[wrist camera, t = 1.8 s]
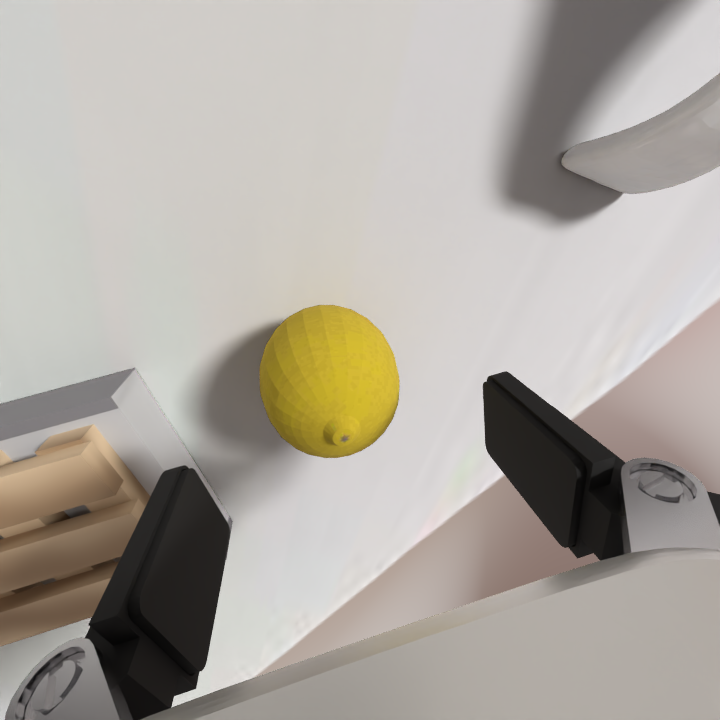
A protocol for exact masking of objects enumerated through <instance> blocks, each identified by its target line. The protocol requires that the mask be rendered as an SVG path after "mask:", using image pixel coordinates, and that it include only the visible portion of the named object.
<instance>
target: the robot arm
mask: <svg viewBox="0 0 720 720" xmlns="http://www.w3.org/2000/svg"><path fill="white" fill-rule="evenodd" d="M483 399H484V422H485V444H486V449H487V451H488V453H489V455H490V456H491V458H492V459H493V460H494V461H495V463H496V464H497V465H498V466H499V468H500V469H501V470H502V472H503V473H504V474H505V475H506V477H507V478H508V479H509V480H510V482H511V483H512V484H513V485H514V487H515V488H516V489H517V491H518V492H519V493H520V494H521V496H522V497H523V498H524V499H525V501H526V502H527V503H528V505H529V506H530V507H531V508H532V510H533V511H534V512H535V513H536V515H537V516H538V517H539V519H540V520H541V521H542V522H543V524H544V525H545V526H546V527H547V529H548V530H549V531H550V533H551V534H552V535H553V536H554V538H555V539H556V540H557V541H558V543H559V544H560V545H561V546H562V547H565V548H566V547H569V548H570V550H571V551H572V552H573V553H574V554H575V556H576V557H577V558H580V557H583V556H586V555H589V554H592V553H594V554H595V555H596V556H597V557H598V559H599V560H600V561H598V562H595V563H592V564H589V565H585V566H582V567H579V568H576V569H573V570H570V571H566V572H563V573H560V574H557V575H554V576H551V577H547V578H544V579H541V580H538V581H535V582H532V583H529V584H527V585H523V586H520V587H517V588H514V589H512V590H509V591H505V592H502V593H499V594H497V595H494V596H491V597H488V598H485V599H482V600H479V601H476V602H473V603H470V604H467V605H464V606H461V607H458V608H455V609H452V610H449V611H446V612H443V613H441V614H437V615H434V616H432V617H429V618H426V619H423V620H420V621H417V622H414V623H411V624H408V625H405V626H402V627H399V628H397V629H393V630H391V631H388V632H385V633H382V634H379V635H376V636H373V637H370V638H367V639H364V640H361V641H359V642H356V643H353V644H350V645H347V646H344V647H341V648H338V649H335V650H333V651H330V652H327V653H324V654H321V655H318V656H315V657H312V658H309V659H307V660H304V661H301V662H298V663H295V664H292V665H289V666H287V667H284V668H281V669H278V670H275V671H272V672H269V673H267V674H264V675H261V676H258V677H255V678H252V679H249V680H246V681H244V682H241V683H238V684H235V685H232V686H229V687H226V688H224V689H221V690H218V691H215V692H213V693H210V694H207V695H204V696H202V697H199V698H196V699H194V700H191V701H188V702H186V703H183V704H180V705H177V706H175V707H172V708H171V706H172V702H173V698H174V696H176V695H179V694H182V693H185V692H188V691H191V690H193V689H196V686H197V681H198V676H199V671H202V670H203V669H204V667H205V665H206V661H207V656H208V651H209V646H210V640H211V635H212V630H213V624H214V619H215V614H216V608H217V603H218V597H219V592H220V587H221V581H222V576H223V571H224V565H225V560H226V555H227V549H228V544H229V539H230V528H229V524H228V522H227V521H226V519H225V518H224V516H223V514H222V513H221V511H220V509H219V508H218V506H217V505H216V503H215V501H214V500H213V498H212V496H211V495H210V493H209V492H208V490H207V488H206V487H205V485H204V483H203V482H202V480H201V479H200V477H199V475H198V474H197V472H196V471H195V469H193V468H190V469H189V468H188V467H187V466H186V465H183V466H179V467H176V468H172V469H169V470H165V471H164V472H163V473H162V474H161V476H160V478H159V480H158V482H157V484H156V486H155V488H154V490H153V492H152V495H151V497H150V499H149V501H148V503H147V505H146V507H145V509H144V511H143V513H142V515H141V517H140V519H139V521H138V523H137V525H136V528H135V530H134V532H133V534H132V536H131V538H130V540H129V542H128V544H127V546H126V548H125V550H124V552H123V554H122V556H121V559H120V561H119V563H118V565H117V567H116V569H115V571H114V573H113V575H112V577H111V579H110V581H109V583H108V585H107V587H106V590H105V592H104V594H103V596H102V598H101V600H100V602H99V604H98V606H97V608H96V610H95V612H94V614H93V616H92V618H91V621H90V623H89V626H90V629H89V631H88V633H87V635H86V637H85V638H77V639H73V640H70V641H68V642H66V643H64V644H62V645H61V646H59V647H57V648H56V649H55V650H53V651H52V652H51V653H49V654H48V655H47V656H46V657H45V658H44V659H43V660H42V661H41V662H40V663H38V664H37V665H36V666H35V667H34V668H33V670H32V671H31V672H30V673H29V674H28V676H27V677H26V678H25V679H24V681H23V682H22V683H21V685H20V686H19V688H18V690H17V691H16V693H15V694H14V696H13V698H12V700H11V702H10V704H9V707H8V709H7V712H6V715H5V720H720V494H715V493H711V492H707V491H706V489H705V487H704V486H703V484H702V482H701V481H699V480H698V479H697V478H696V477H695V476H694V475H693V474H692V473H690V472H688V471H687V470H685V469H683V468H682V467H680V466H677V465H675V464H672V463H670V462H667V461H663V460H659V459H653V458H637V459H632V460H630V461H628V462H626V463H625V462H624V461H623V460H621V459H620V458H619V457H617V456H616V455H615V454H614V453H612V452H611V451H610V450H608V449H607V448H606V447H605V446H603V445H602V444H601V443H599V442H598V441H597V440H596V439H594V438H593V437H592V436H590V435H589V434H588V433H586V432H585V431H584V430H583V429H581V428H580V427H579V426H578V425H576V424H575V423H574V422H572V421H571V420H570V419H568V418H567V417H566V416H565V415H563V414H562V413H561V412H559V411H558V410H557V409H556V408H554V407H553V406H551V405H550V404H548V403H547V402H546V401H545V400H543V399H542V398H541V397H539V396H538V395H537V394H536V393H534V392H533V391H532V390H530V389H529V388H528V387H527V386H525V385H524V384H523V383H521V382H520V381H519V380H518V379H516V378H515V377H514V376H512V375H511V374H510V373H508V372H502V373H498V374H495V375H491V376H489V377H488V378H487V382H484V384H483Z"/></svg>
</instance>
